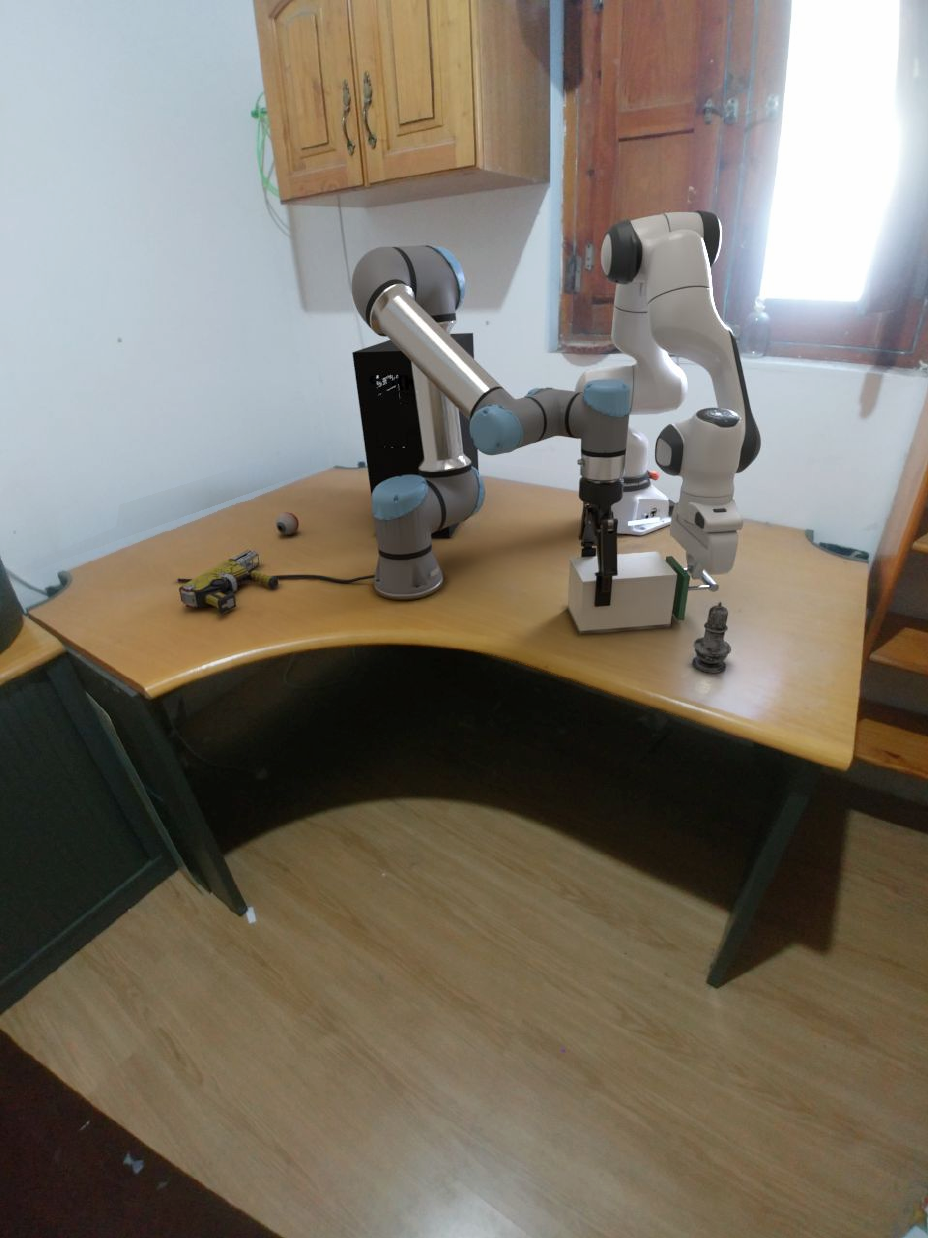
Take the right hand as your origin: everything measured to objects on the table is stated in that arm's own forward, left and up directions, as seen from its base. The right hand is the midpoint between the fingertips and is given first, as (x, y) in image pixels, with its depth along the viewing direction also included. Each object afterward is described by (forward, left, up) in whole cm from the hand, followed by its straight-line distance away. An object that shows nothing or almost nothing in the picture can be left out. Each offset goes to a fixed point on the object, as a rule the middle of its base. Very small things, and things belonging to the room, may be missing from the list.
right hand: (693, 576), depth 114 cm
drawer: (+7, -3, -7) cm, 10 cm away
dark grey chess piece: (+10, +15, -8) cm, 20 cm away
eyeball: (+62, -85, -8) cm, 106 cm away
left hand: (+18, -7, -2) cm, 19 cm away
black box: (+22, -81, -8) cm, 84 cm away
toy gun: (+78, -57, -8) cm, 96 cm away
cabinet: (+13, -5, -8) cm, 16 cm away
